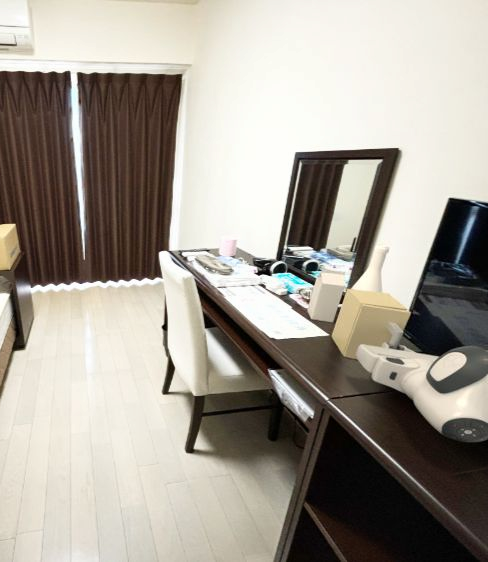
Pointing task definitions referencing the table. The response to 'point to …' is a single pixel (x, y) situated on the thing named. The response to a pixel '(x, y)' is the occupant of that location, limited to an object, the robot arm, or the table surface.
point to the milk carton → (326, 295)
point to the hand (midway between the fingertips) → (392, 346)
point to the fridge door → (376, 328)
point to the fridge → (351, 311)
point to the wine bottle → (373, 271)
